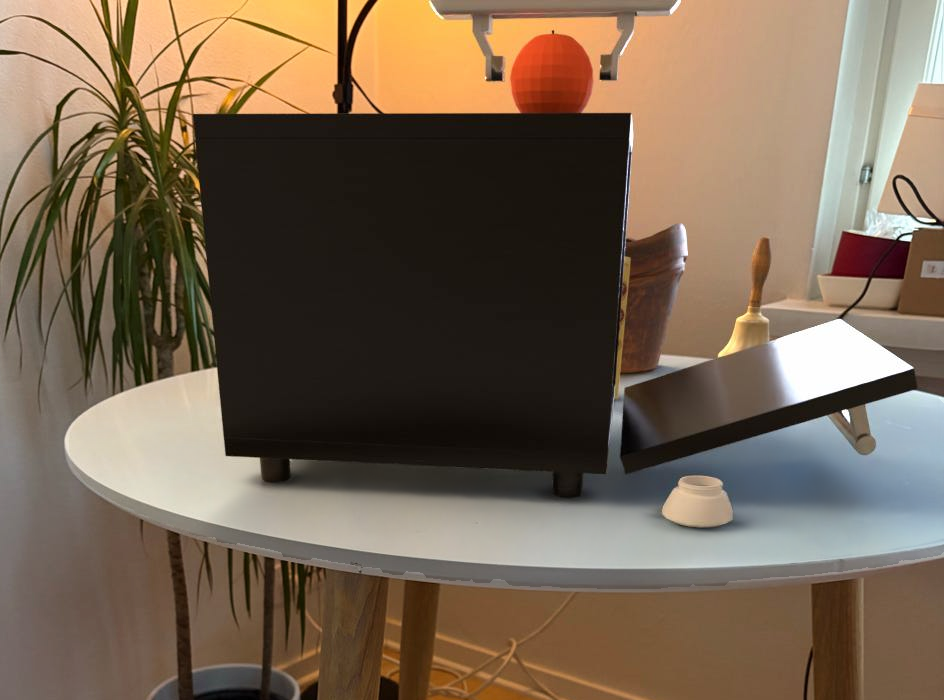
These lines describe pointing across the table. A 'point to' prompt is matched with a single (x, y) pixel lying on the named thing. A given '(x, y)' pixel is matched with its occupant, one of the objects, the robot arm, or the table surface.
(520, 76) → the clementine
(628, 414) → the oven door
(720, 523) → the white jar
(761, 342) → the hand bell
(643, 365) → the terracotta flower pot
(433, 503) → the table surface
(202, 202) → the oven
